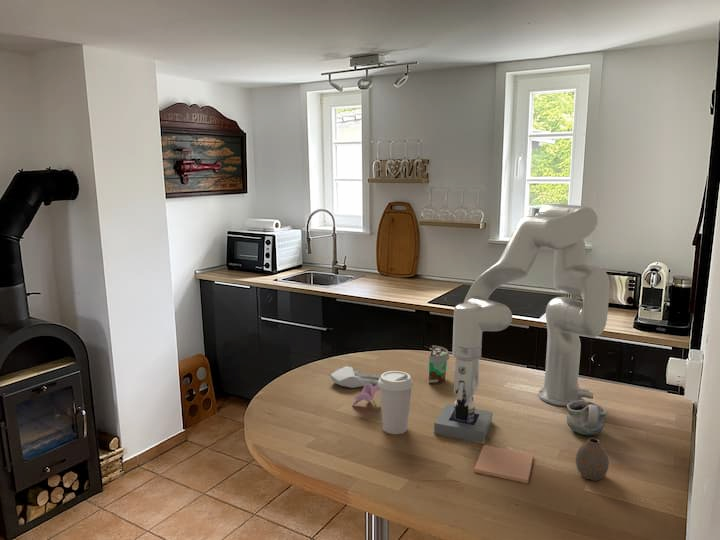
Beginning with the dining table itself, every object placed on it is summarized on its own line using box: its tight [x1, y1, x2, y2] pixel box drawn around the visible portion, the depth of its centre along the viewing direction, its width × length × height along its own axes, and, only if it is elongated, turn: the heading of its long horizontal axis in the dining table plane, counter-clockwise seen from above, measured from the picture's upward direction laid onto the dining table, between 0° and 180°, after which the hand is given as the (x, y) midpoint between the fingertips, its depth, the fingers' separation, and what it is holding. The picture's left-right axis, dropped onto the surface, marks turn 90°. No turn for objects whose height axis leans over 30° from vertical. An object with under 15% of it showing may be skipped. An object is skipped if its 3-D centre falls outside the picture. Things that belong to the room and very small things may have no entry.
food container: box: [428, 345, 450, 386], centre depth 181 cm, size 12×6×10 cm, turn 168°
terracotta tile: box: [473, 444, 534, 484], centre depth 130 cm, size 12×12×1 cm
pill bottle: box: [454, 392, 476, 425], centre depth 147 cm, size 5×5×10 cm
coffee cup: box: [378, 370, 415, 435], centre depth 146 cm, size 10×10×15 cm
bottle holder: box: [433, 403, 493, 444], centre depth 148 cm, size 13×13×3 cm
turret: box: [329, 365, 382, 389], centre depth 179 cm, size 10×20×5 cm, turn 97°
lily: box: [351, 383, 380, 412], centre depth 160 cm, size 11×11×9 cm
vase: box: [575, 437, 610, 481], centre depth 124 cm, size 7×7×9 cm
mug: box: [566, 399, 607, 436], centre depth 144 cm, size 10×12×10 cm
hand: (464, 413), depth 147 cm, fingers closed on pill bottle, 5 cm apart
